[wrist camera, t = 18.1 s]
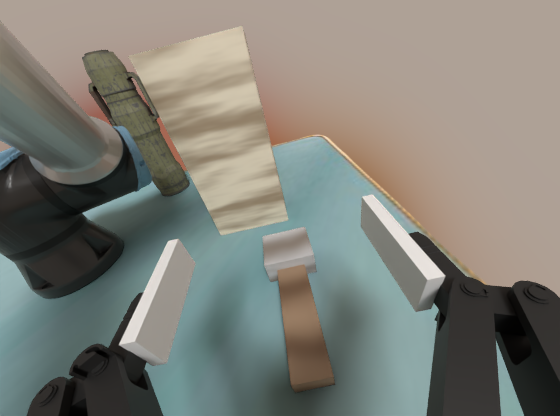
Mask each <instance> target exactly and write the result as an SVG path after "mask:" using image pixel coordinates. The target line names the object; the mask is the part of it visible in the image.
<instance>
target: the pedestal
mask: <svg viewBox="0 0 560 416" xmlns="http://www.w3.org/2000/svg"><path fill="white" fill-rule="evenodd" d="M129 58H130V60H131V62H132V64H133V66H134V68H135V70H136V72H137V73H138V76H139V78H140V80H141V81H142V83H143V85H144V87H145V89H146V91H147V93H148V95H149V97H150V99H151V101H152V103H153V105H154V107H155V109H156V111H157V112H158V114H159V116H160V118H161V120H162V122H163V124H164V126H165V128H166V130H167V132H168V134H169V136H170V138H171V140H172V141H173V143H174V145H175V147H176V149H177V151H178V153H179V155H180V157H181V159H182V161H183V163H184V165H185V167H186V169H187V171H188V172H189V174H190V176H191V178H192V180H193V182H194V184H195V186H196V188H197V190H198V192H199V194H200V196H201V198H202V200H203V201H204V203H205V205H206V207H207V209H208V211H209V213H210V215H211V217H212V219H213V221H214V223H215V225H216V227H217V229H218V230H219V232H220V234H221V235H225V234H230V233H234V232H239V231H243V230H247V229H252V228H256V227H261V226H265V225H269V224H274V223H278V222H283V221H287V220H288V216H287V211H286V207H285V202H284V197H283V193H282V188H281V184H280V180H279V176H278V172H277V167H276V163H275V159H274V155H273V150H272V146H271V142H270V138H269V134H268V129H267V126H266V121H265V117H264V113H263V108H262V104H261V100H260V96H259V91H258V87H257V83H256V79H255V74H254V70H253V66H252V62H251V58H250V53H249V49H248V45H247V41H246V37H245V33H244V30H243V28H242V26H240V27H236V28H232V29H229V30H225V31H221V32H217V33H214V34H210V35H206V36H202V37H199V38H195V39H191V40H188V41H184V42H180V43H176V44H172V45H169V46H165V47H161V48H157V49H154V50H150V51H146V52H142V53H139V54H135V55H131V56H129Z"/></svg>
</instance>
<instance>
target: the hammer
mask: <svg viewBox="0 0 560 416" xmlns="http://www.w3.org/2000/svg"><path fill="white" fill-rule="evenodd" d="M263 250H264V266H265V269H266V271H267V274H268V276H269V279H270V282H273V281H279V289H280V298H281V306H282V315H283V323H284V331H285V340H286V348H287V357H288V365H289V373H290V382H291V387H292V388H293V390H294V392H295V393H296V392H301V391H306V390H311V389H315V388H320V387H325V386H330V385H335V381H334V376H333V372H332V368H331V364H330V360H329V356H328V352H327V349H326V345H325V341H324V337H323V333H322V329H321V325H320V322H319V318H318V314H317V310H316V306H315V302H314V298H313V295H312V291H311V287H310V283H309V279H308V275H307V274H309V273H314V272H317V271H316V265H315V259H314V254H313V251H312V247H311V244H310V241H309V238H308V235H307V232H306V229H305V227H302V228H297V229H293V230H288V231H284V232H280V233H275V234H271V235H266V236H263Z"/></svg>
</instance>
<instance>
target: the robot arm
mask: <svg viewBox="0 0 560 416" xmlns="http://www.w3.org/2000/svg"><path fill="white" fill-rule="evenodd" d="M0 141H2V142H4V143H6V144H8V145H10V146H12V147H11V148H9V149H7V150H4V151H2V152H0V253H1V254H3V255H4V256H6V257H7V258H9V259H10V260H12V261H13V262H14V263H15V264H16V265H17V267H18V269H19V270H20V272H21V274H22V275H23V277H24V279H25V280H26V282H27V284H28V285H29V287H30V288H31V290H32V291H34V292H35V293H37V294H38V295H40V296H41V297H43V298H47V299H51V298H58V297H61V296H64V295H67V294H69V293H72V292H74V291H76V290H78V289H80V288H82V287H84V286H85V285H87V284H89V283H90V282H92V281H93V280H95V279H96V278H97V277H99V276H100V275H101V274H102V273H104V272H105V271H106V270H107V269H108V268H109V267H110V266H111V265H112V264H113V263H114V262H115V261H116V260H117V258H118V257H119V256H120V254H121V252H122V250H123V246H124V244H123V241H122V240H121V239H120V238H119V237H118V236H117V235H116V234H115V233H113V232H111V231H109V230H107V229H105V228H103V227H101V226H99V225H97V224H95V223H93V222H91V221H90V220H88V219H87V218H86V217H85V216H84V215H83V214H82V213H83V212H86V211H88V210H90V209H92V208H95V207H97V206H100V205H102V204H105V203H107V202H110V201H112V200H114V199H117V198H119V197H122V196H124V195H127V194H129V193H131V192H134V191H135V192H136V191H139V190H140V189H141V188H143V187H145V186H147V185H149V184H150V183H151V182H152V175H151V173H150V170H149V168H148V166H147V164H146V163H145V161H144V159H143V156H142V154H141V152H140V151H139V149H138V147H137V145H136V143H135V141H134V140H133V138H132V136H131V134H130V133H129V131H128V130H127V129H126V128H125V127H123V126H118V127H117V126H113V127H111V126H110V125H109V124H107V123H106V122H104V121H102V120H100V119H98V118H95V117H91V116H88V115H87V114H86V113H85V112H84V111H83V110H82V109H81V107H79V105H78V104H77V103H76V102H75V101H74V100H73V99H72V98H71V97H70V96H69V95H68V93H67V92H66V91H65V90H64V89H63V88H62V87H61V86H60V85H59V84H58V83H57V82H56V81H55V79H54V78H53V77H52V76H51V75H50V74H49V73H48V72H47V71H46V70H45V69H44V68H43V66H42V65H41V64H40V63H39V62H38V61H37V60H36V59H35V58H34V57H33V56H32V55H31V54H30V53H29V51H28V50H27V49H26V48H25V47H24V46H23V45H22V44H21V43H20V42H19V41H18V40H17V38H15V36H14V35H13V34H12V33H11V32H10V31H9V30H8V29H7V28H6V27H5V26H4V24H3V23H2V22H1V21H0ZM361 228H362V229H363V231H364V232H365V234H366V235H367V237H368V239H369V240H370V242H371V243H372V245H373V246H374V248H375V249H376V251H377V252H378V254H379V256H380V257H381V259H382V260H383V262H384V263H385V265H386V266H387V268H388V270H389V271H390V273H391V274H392V276H393V277H394V279H395V280H396V282H397V283H398V285H399V287H400V288H401V290H402V291H403V293H404V294H405V296H406V297H407V299H408V301H409V302H410V304H411V305H412V307H413V308H414V310H415V311H416V312H418V311H423V310H428V309H431V308H432V306H433V303H435V305H436V306H437V307H438V309H439V311H438V313H437V315H436V318H435V320H436V321H437V327H436V336H435V345H434V354H433V363H432V372H431V381H430V390H429V399H428V408H427V416H501V409H500V395H499V380H498V366H497V352H496V341H497V343H498V346H499V349H500V351H501V354H502V357H503V360H504V362H505V365H506V368H507V370H508V373H509V376H510V378H511V381H512V384H513V386H514V389H515V392H516V395H517V397H518V400H519V403H520V405H521V408H522V411H523V413H524V416H560V298H559V297H558V296H557V295H556V294H555V293H554V292H553V291H551V290H550V289H548V288H547V287H545V286H542V285H540V284H538V283H534V282H530V281H519V282H516V283H515V284H514V285H513V286H512V287H501V286H490V285H485V284H483V283H482V282H480V281H478V280H476V279H473V278H470V277H467V276H465V275H464V274H463V273H462V272H461V271H460V270H459V269H458V268H457V267H456V266H455V265H454V264H453V263H452V262H451V261H450V260H449V259H448V258H447V257H446V256H445V255H444V254H443V253H442V252H441V251H440V250H439V249H438V248H437V246H435V245H434V243H433V242H432V241H431V240H430V239H429V238H428V237H426V236H424V235H423V234H421V233H419V232H414V233H410V234H408V233H407V232H406V231H405V230H404V229H403V228H402V227H401V225H400V224H399V223H398V222H397V221H396V220H395V219H394V218H393V216H392V215H391V214H390V213H389V212H388V211H387V210H386V209H385V208H384V206H383V205H382V204H381V203H380V202H379V201H378V200H377V199H376V197H375V196H374V195H368V196H364V197H362V206H361ZM195 264H196V263H195V262H194V260H193V259H192V257H191V256H190V255H189V253H188V252H187V250H186V249H185V247H184V246H183V244H182V243H181V242H180V240H179V239H175V240H170V241H168V242H167V245H166V247H165V249H164V251H163V253H162V255H161V257H160V259H159V261H158V263H157V266H156V268H155V270H154V272H153V274H152V276H151V278H150V280H149V282H148V284H147V287H146V289H145V291H144V292H143V293H139V294H138V295H137V296H136V298H135V299H134V300H133V301H132V302H131V304H130V306H129V308H128V310H127V313H126V314H125V316H124V318H123V321H122V322H121V324H120V326H119V328H118V330H117V332H116V334H115V336H114V338H113V340H112V342H111V344H110V346H109V348H107V347H105V346H103V345H102V344H95V345H91V346H90V347H88V348H87V349H85V350H84V351H83V352H82V353H81V354H80V355H79V356H78V357H77V358H76V360H75V361H74V362H73V364H72V366H71V368H70V372H69V375H71V376H74V377H73V378H71V379H67V378H65V377H58V378H55V379H53V380H52V381H50V382H49V383H48V384H46V385H45V386H44V387H43V388H42V389H41V390H40V391H39V392H38V394H37V395H36V396H35V398H34V399H33V401H32V403H31V405H30V407H29V410H28V413H27V416H163V414H162V411H161V408H160V406H159V403H158V400H157V397H156V395H155V392H154V389H153V387H152V384H151V381H150V379H149V376H148V373H147V371H146V370H145V369H144V368H145V365H146V362H147V363H149V364H150V365H152V366H156V365H160V364H165V363H167V361H168V357H169V354H170V350H171V347H172V343H173V340H174V336H175V333H176V330H177V326H178V323H179V319H180V316H181V312H182V309H183V305H184V302H185V298H186V295H187V291H188V288H189V284H190V281H191V277H192V274H193V271H194V267H195Z"/></svg>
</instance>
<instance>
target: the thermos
mask: <svg viewBox="0 0 560 416" xmlns="http://www.w3.org/2000/svg"><path fill="white" fill-rule="evenodd" d="M82 59H83V62H84V66H85V69H86V72H87V74H88V75H89V77H90V79H91V80H92V83H90V84H89V93H90V94H91V95H92V97H93V98H94V100H95V101H96V102H97V104H98V105H99V107H100V108H101V110H102V111H103V113H104V114H105V115H106V117H107V118H108V120H109V122H110V123H111V125H112V126H117V127H118V126H123V127H125V128H126V129H127V130H128V131H129V133H130V134H131V136H132V138H133V140H134V141H135V143H136V145H137V147H138V149H139V151H140V152H141V154H142V156H143V159H144V161H145V163H146V164H147V166H148V168H149V170H150V173H151V175H152V181H153V182H154V184H155V185H156V187H157V188H158V189H159V190H160V192H161V194H162V195H163V196H172V195H175V194H177V193H180V192H182V191H183V190H185V189H186V188H187V187H188V186H189V182H188V180H187V178H186V175H185V173H184V171H183V169H182V167H181V165H180V164H179V163H178V162H177V161H176V160H175V158H174V156H173V155H172V153H171V151H170V149H169V147H168V145H167V143H166V141H165V139H164V138H163V136H162V134H161V132H160V126H159V124H158V123H157V121H156V120H157V118H158V117H159V114H158V112H157V111H156V109H155V107H154V105H153V103H152V101H151V99H150V97H149V95H148V93H147V91H146V89H145V87H144V85H143V83H142V81H141V80H140V78H139V76H137V75H136V74H135V73H133V72H127V70H126V68H125V66H124V65H123V64H122V62H121V61H120V60H119V59H118V58H117V56H116V55H115V54H114V53H113V52H109V51H108V50H100V51H94V52H89V53H86V54H85V56H84V57H82ZM131 78H134V79H135V80H136V81H137V84H138V85H139V87H140V89H141V91H142V93H143V95H144V97H145V99H146V101H147V102H148V104H149V106H150V107H149V106H148V105H147V104H146V103H145V102H144V101H143V100H142V98H141V96H140V95H139V94H138V92H137V90H136V87H135V85H134V83H133V81H132V79H131ZM97 90H98V91H99V92H98V91H97ZM99 93H100V94H101V95H100V94H99ZM101 96H103V97H104V99H105V100H106V102H107V105H108V106H107V105H106V103H105V102H104V100H103V99H102V97H101ZM108 107H109V108H110V109H109V108H108ZM150 108H151V109H150ZM151 110H152V111H151ZM152 112H153V113H152Z"/></svg>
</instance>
